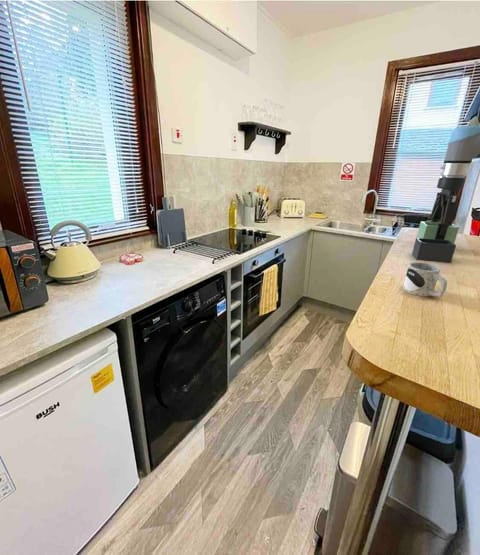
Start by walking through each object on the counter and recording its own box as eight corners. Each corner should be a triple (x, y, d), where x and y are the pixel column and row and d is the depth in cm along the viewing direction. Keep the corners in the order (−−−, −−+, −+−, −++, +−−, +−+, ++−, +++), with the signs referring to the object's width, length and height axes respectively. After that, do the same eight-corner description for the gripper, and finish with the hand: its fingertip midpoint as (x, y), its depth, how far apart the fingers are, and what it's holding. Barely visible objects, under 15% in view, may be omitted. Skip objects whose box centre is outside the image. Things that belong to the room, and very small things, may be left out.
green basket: (444, 243, 106) (450, 222, 103) (452, 249, 99) (459, 227, 96) (415, 241, 109) (420, 221, 106) (420, 246, 102) (426, 225, 99)
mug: (397, 286, 73) (402, 263, 70) (417, 284, 74) (423, 261, 72) (429, 304, 64) (437, 278, 61) (452, 300, 65) (460, 275, 63)
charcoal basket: (444, 256, 96) (449, 240, 93) (450, 262, 90) (456, 245, 88) (411, 254, 99) (416, 237, 96) (416, 259, 93) (420, 242, 91)
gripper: (431, 175, 105) (416, 233, 113) (451, 178, 86) (431, 247, 95) (454, 175, 102) (437, 235, 111) (479, 178, 84) (456, 249, 93)
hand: (434, 240), depth 103 cm, fingers closed on green basket, 8 cm apart
